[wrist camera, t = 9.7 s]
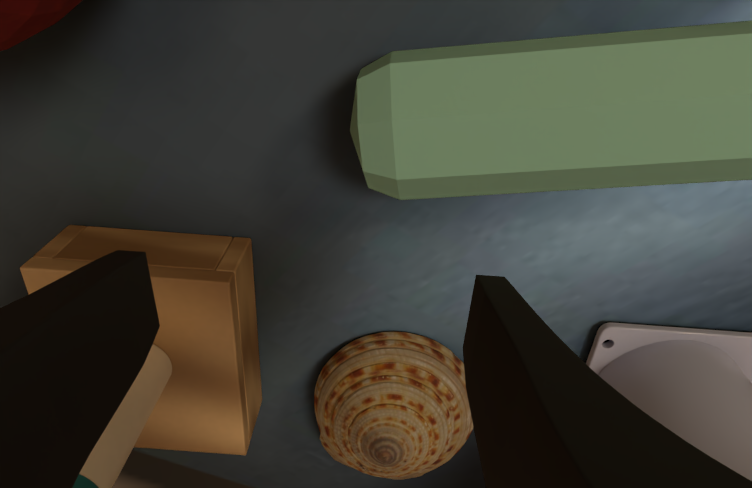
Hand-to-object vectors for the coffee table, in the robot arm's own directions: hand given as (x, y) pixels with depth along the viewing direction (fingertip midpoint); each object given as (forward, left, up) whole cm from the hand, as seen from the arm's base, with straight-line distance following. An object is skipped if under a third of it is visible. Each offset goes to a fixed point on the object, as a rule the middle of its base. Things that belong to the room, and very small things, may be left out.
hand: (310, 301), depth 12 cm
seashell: (-14, -3, -11) cm, 17 cm away
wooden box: (-10, +8, -10) cm, 16 cm away
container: (+3, -12, -11) cm, 17 cm away
